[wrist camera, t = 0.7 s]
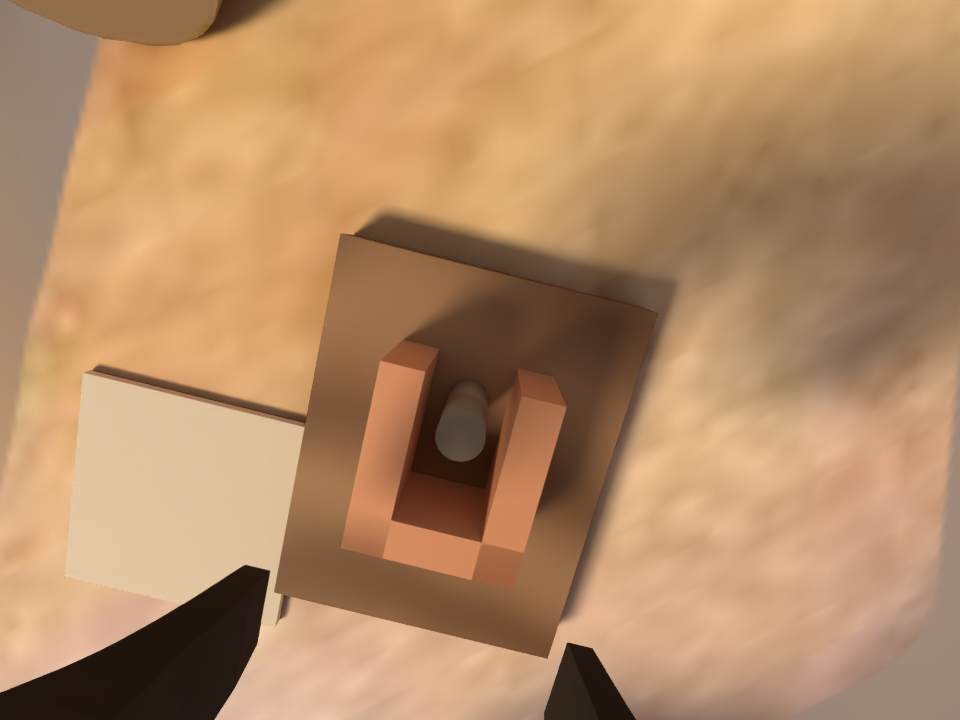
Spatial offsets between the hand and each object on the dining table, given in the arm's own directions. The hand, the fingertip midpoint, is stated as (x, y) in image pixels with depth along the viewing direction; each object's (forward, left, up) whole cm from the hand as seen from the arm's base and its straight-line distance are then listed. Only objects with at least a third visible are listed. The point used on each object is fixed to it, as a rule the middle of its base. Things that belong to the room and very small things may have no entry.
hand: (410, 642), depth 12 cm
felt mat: (-4, +10, -9) cm, 14 cm away
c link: (+2, 0, -7) cm, 8 cm away
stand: (+1, 0, -9) cm, 9 cm away
